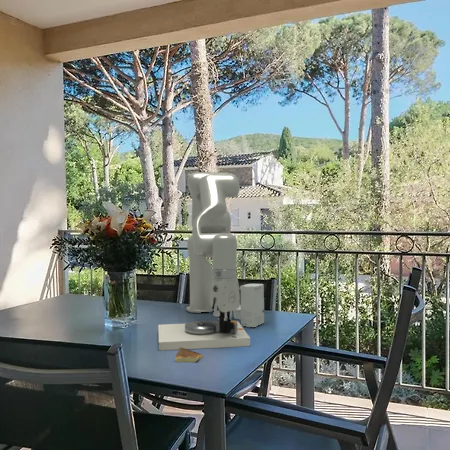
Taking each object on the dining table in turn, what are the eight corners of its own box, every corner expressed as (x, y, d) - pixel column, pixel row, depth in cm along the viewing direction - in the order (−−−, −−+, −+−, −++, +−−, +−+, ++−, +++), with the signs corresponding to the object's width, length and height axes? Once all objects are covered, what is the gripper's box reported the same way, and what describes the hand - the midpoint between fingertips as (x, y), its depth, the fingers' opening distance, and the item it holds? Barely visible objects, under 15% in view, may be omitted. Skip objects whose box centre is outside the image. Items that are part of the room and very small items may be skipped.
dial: (179, 332, 157) (179, 321, 157) (193, 324, 167) (192, 314, 167) (230, 337, 151) (230, 325, 151) (241, 329, 161) (241, 317, 161)
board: (158, 331, 169) (158, 323, 169) (238, 328, 173) (238, 320, 173) (158, 350, 147) (158, 341, 147) (250, 346, 151) (250, 337, 151)
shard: (180, 352, 147) (180, 346, 147) (205, 352, 147) (205, 346, 147) (174, 363, 137) (173, 357, 136) (201, 364, 136) (201, 357, 136)
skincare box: (254, 328, 173) (254, 286, 172) (239, 326, 176) (239, 285, 175) (264, 323, 180) (264, 283, 180) (250, 321, 183) (250, 282, 182)
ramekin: (259, 319, 186) (259, 308, 186) (238, 322, 183) (238, 310, 183) (249, 315, 195) (249, 304, 194) (229, 317, 191) (229, 306, 191)
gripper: (220, 278, 145) (220, 339, 146) (247, 272, 157) (247, 329, 158) (200, 276, 149) (201, 335, 150) (228, 270, 162) (228, 326, 162)
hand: (225, 332), depth 154 cm, fingers closed
